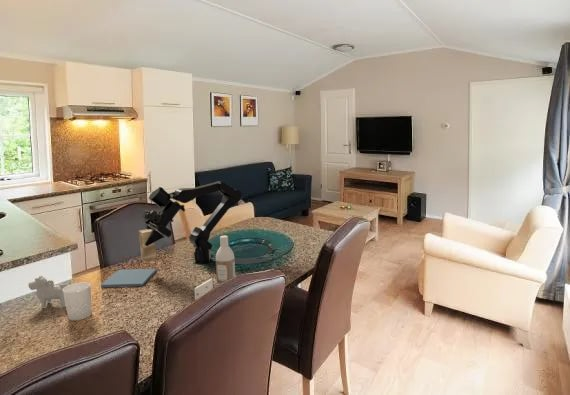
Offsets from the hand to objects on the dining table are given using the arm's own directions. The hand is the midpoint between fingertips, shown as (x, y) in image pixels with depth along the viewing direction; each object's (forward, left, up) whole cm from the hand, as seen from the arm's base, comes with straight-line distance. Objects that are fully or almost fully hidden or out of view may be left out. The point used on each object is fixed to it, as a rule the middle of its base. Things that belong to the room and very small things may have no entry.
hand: (144, 244), depth 155 cm
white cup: (+10, +35, -14) cm, 38 cm away
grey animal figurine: (+24, +27, -14) cm, 38 cm away
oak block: (-1, -1, -7) cm, 7 cm away
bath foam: (-35, +15, -14) cm, 41 cm away
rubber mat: (+6, +4, -13) cm, 15 cm away
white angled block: (-31, +30, -14) cm, 45 cm away
